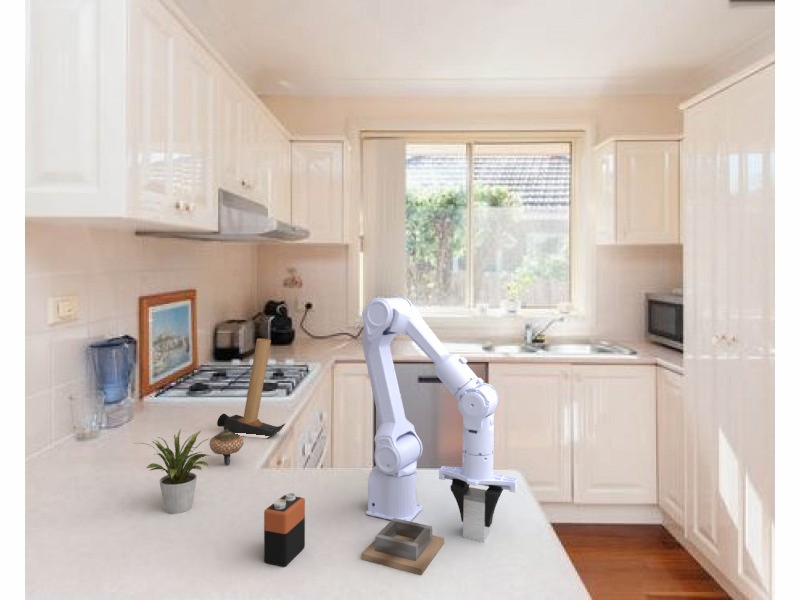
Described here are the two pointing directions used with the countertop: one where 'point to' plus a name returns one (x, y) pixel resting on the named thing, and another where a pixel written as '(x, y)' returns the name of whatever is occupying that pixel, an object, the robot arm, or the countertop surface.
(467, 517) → the peg
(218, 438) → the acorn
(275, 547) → the battery
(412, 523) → the socket block
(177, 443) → the house plant
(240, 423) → the hammer
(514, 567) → the countertop surface
